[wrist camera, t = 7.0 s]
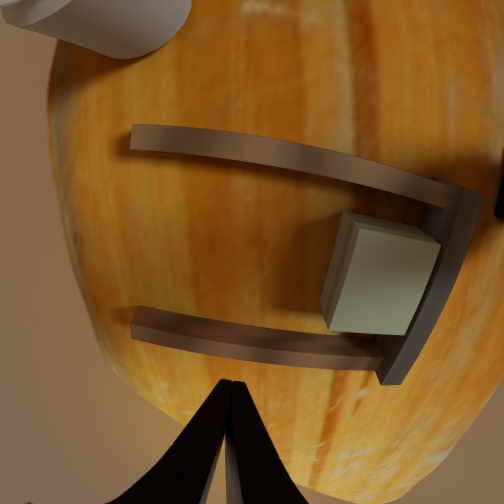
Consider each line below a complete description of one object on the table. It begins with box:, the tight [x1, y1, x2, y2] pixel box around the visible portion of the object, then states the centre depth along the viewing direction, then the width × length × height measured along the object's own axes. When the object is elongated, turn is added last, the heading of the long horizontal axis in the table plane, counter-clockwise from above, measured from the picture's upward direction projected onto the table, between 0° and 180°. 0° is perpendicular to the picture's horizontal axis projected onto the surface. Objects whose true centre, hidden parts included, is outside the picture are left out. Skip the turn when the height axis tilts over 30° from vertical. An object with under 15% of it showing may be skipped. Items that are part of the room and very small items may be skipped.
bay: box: [130, 124, 484, 385], centre depth 19 cm, size 22×16×4 cm
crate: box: [320, 211, 441, 335], centre depth 19 cm, size 6×7×4 cm
